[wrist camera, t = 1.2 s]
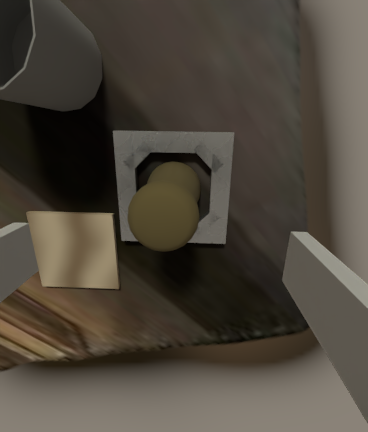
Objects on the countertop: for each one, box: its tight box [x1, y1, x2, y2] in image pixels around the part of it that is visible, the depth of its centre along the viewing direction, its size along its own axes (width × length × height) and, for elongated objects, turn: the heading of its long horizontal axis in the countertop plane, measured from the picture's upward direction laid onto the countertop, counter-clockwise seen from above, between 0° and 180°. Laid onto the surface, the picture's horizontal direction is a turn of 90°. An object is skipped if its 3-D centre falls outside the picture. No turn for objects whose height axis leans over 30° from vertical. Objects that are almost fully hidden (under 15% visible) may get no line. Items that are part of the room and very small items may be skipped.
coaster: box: [26, 211, 120, 289], centre depth 28 cm, size 10×10×1 cm
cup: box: [0, 0, 102, 112], centre depth 17 cm, size 8×8×10 cm
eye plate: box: [113, 131, 234, 244], centre depth 25 cm, size 12×12×1 cm
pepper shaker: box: [127, 161, 201, 252], centre depth 20 cm, size 6×6×11 cm
